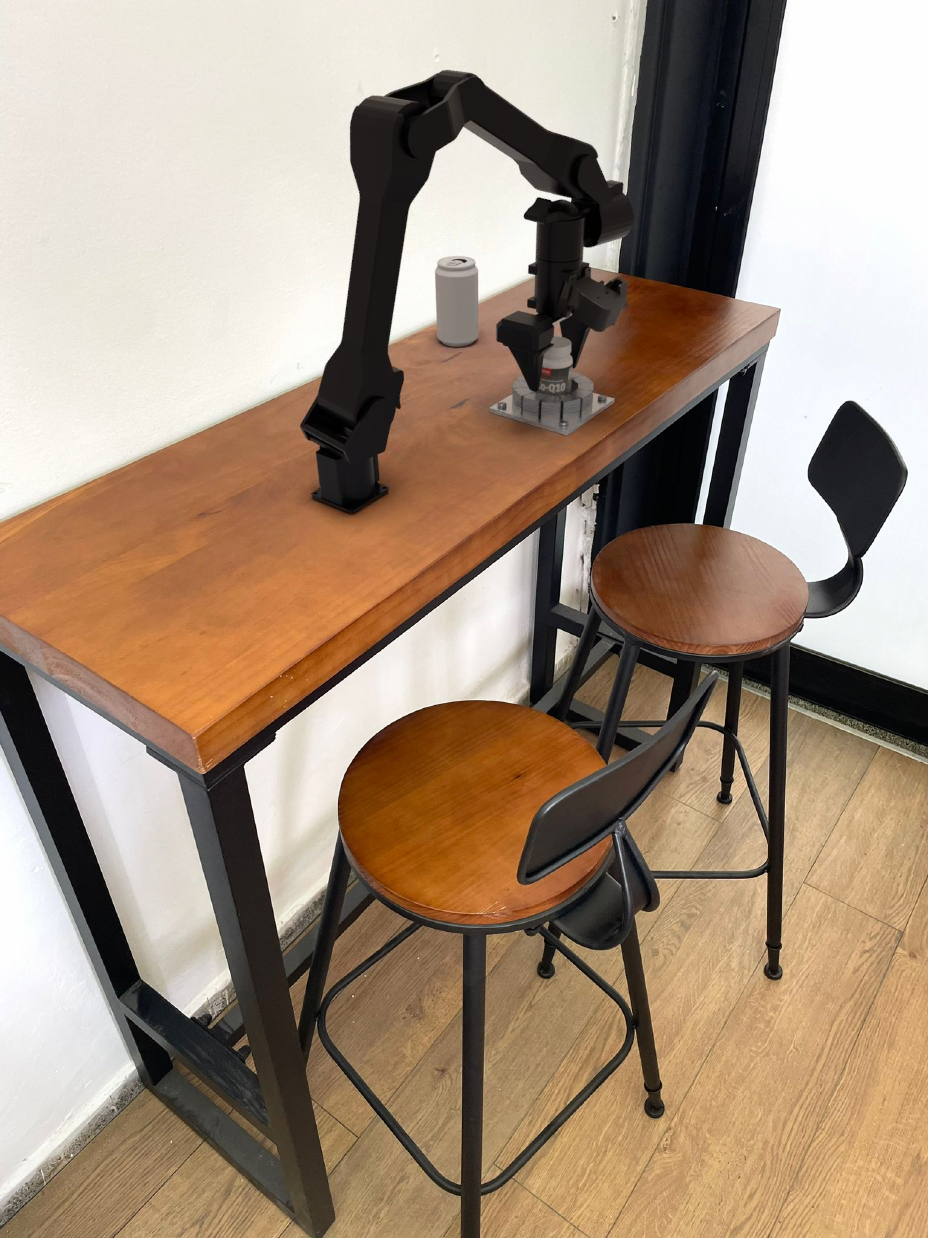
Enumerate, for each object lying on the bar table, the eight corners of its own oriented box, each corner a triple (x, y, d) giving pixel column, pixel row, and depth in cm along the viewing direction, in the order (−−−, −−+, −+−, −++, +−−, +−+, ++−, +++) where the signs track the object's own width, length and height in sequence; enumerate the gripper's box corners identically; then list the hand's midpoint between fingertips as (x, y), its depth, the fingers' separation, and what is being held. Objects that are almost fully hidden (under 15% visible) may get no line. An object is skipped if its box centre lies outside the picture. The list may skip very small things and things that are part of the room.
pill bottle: (532, 409, 121) (534, 347, 116) (536, 394, 125) (539, 334, 120) (568, 412, 120) (571, 349, 115) (572, 397, 124) (575, 336, 119)
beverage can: (486, 337, 143) (486, 258, 136) (464, 351, 139) (462, 269, 132) (451, 330, 146) (450, 251, 139) (429, 343, 142) (426, 263, 135)
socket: (566, 435, 116) (567, 412, 114) (489, 411, 122) (489, 389, 120) (614, 402, 124) (616, 380, 122) (539, 381, 130) (540, 360, 128)
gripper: (576, 288, 101) (568, 419, 111) (655, 247, 113) (642, 369, 122) (493, 270, 107) (492, 397, 116) (577, 233, 118) (570, 351, 128)
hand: (553, 378), depth 120 cm, fingers open, 9 cm apart
